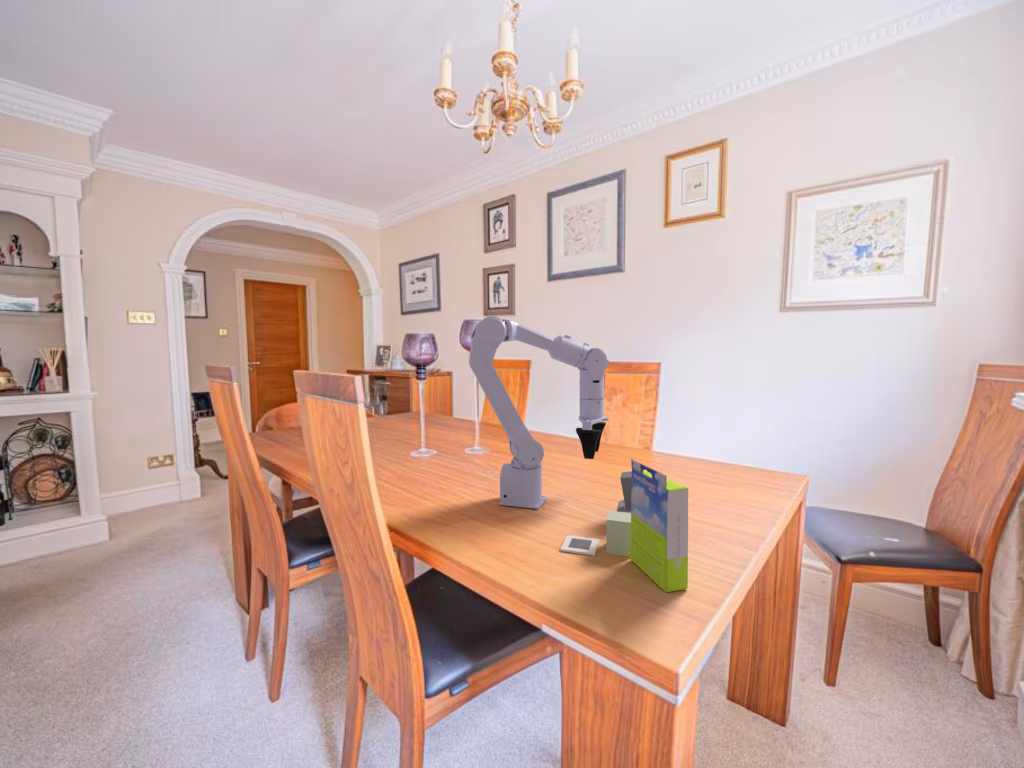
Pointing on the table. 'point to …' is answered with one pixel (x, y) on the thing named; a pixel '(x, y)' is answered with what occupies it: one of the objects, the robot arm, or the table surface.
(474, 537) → the table surface
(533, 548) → the table surface
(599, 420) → the robot arm
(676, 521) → the box
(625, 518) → the sage block
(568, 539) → the card
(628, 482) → the charcoal block
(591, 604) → the table surface
